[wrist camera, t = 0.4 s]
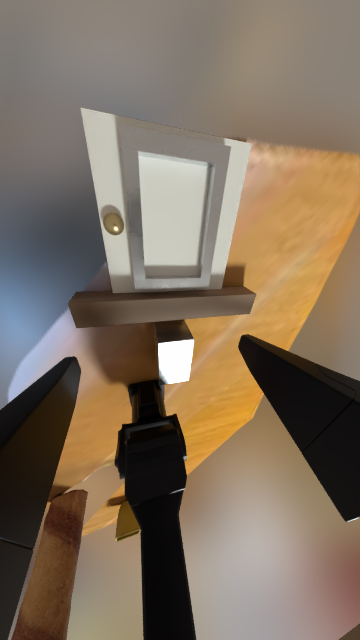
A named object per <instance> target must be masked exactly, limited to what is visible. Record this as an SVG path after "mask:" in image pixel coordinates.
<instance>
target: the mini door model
mask: <svg viewBox="0 0 360 640" xmlns="http://www.w3.org/2000/svg"><path fill="white" fill-rule="evenodd" d="M81 114H82V118H83V125H84V131H85V136H86V142H87V148H88V153H89V159H90V165H91V171H92V177H93V182H94V188H95V194H96V200H97V205H98V211H99V217H100V222H101V228H102V233H103V239H104V245H105V251H106V256H107V263H108V268H109V274H110V280H111V286H112V291H113V293H133V292H159V291H185V290H211V289H222V284H223V279H224V274H225V269H226V265H227V260H228V255H229V250H230V245H231V241H232V236H233V231H234V226H235V221H236V216H237V212H238V207H239V202H240V197H241V192H242V188H243V183H244V178H245V173H246V168H247V163H248V159H249V154H250V149H251V143H246V142H241V141H237V140H232V139H227V138H222V137H217V136H213V135H208V134H204V133H199V132H194V131H189V130H184V129H180V128H175V127H170V126H166V125H161V124H156V123H151V122H147V121H142V120H137V119H133V118H128V117H123V116H118V115H114V114H109V113H104V112H100V111H95V110H90V109H85V108H81Z"/></svg>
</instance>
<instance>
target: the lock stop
mask: <svg viewBox="0 0 360 640" xmlns="http://www.w3.org/2000/svg"><path fill="white" fill-rule="evenodd" d="M154 335H155V362H156V369H157V375H158V381H159V386H160V385H165V384H171V383H176V382H182V381H187V380H189V373H190V366H191V359H192V352H193V344H194V338H193V336H192V334H191V332H190V330H189V328H188V326H187V324H186V322H185V320H184V319H183V320H171V321H159V322H154Z"/></svg>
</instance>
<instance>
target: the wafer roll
mask: <svg viewBox="0 0 360 640" xmlns="http://www.w3.org/2000/svg"><path fill="white" fill-rule="evenodd" d="M87 493H88V492H86V491H84V490H73V491H70V492H68V493H65V494H62V495H59V496H57V497H55V498H54V499H53V500H52V501H51V504H50V507H49V511H48V513H47V515H46V518H45V522H44V528H43V532H42V536H41V541H40V545H39V549H38V552H37V555H36V559H35V564H34V567H33V571H32V574H31V577H30V580H29V583H28V586H27V590H26V593H25V596H24V598H23V601H22V604H21V607H20V610H19V615H18V619H17V623H16V627H15V630H14V633H13V636H12V639H11V640H66V638H67V629H68V622H69V616H70V609H71V597H72V592H73V587H74V586H73V585H74V579H75V572H76V566H77V560H78V554H79V549H80V543H81V534H82V528H83V520H84V513H85V507H86V499H87Z"/></svg>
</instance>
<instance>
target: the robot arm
mask: <svg viewBox="0 0 360 640" xmlns="http://www.w3.org/2000/svg"><path fill="white" fill-rule="evenodd" d="M238 348H239V351H240V353H241V355H242V357H243V359H244V361H245V363H246V365H247V367H248V368H249V370H250V372H251V374H252V375H253V377H254V378H255V380H256V382H257V383H258V385H259V386H260V388H261V390H262V391H263V393H264V394H265V396H266V397H267V399H268V401H269V402H270V403H271V405H272V407H273V408H274V410H275V412H276V413H277V415H278V416H279V418H280V420H281V421H282V423H283V424H284V426H285V427H286V429H287V430H288V432H289V434H290V435H291V437H292V438H293V440H294V442H295V443H296V445H297V446H298V448H299V450H300V451H301V452H302V454H303V456H304V458H305V459H306V461H307V462H308V464H309V466H310V467H311V469H312V470H313V472H314V473H315V475H316V476H317V478H318V480H319V481H320V483H321V485H322V486H323V488H324V489H325V491H326V492H327V494H328V496H329V497H330V499H331V500H332V502H333V503H334V505H335V507H336V508H337V510H338V511H339V513H340V514H341V516H342V517H343V519H344V520H345V521H346V522H349V521H352V520H354V519H357V518H360V381H358V380H355V379H353V378H350V377H347V376H345V375H343V374H340V373H338V372H335V371H332V370H330V369H328V368H325V367H323V366H321V365H319V364H316V363H314V362H312V361H309V360H307V359H304V358H302V357H300V356H298V355H295V354H293V353H290V352H288V351H286V350H284V349H281V348H279V347H277V346H275V345H272V344H270V343H268V342H265V341H263V340H261V339H258V338H256V337H254V336H251V335H249V334H247V335H242V336H241V339H240V342H239V345H238ZM80 375H81V368H80V366H79V363H78V360H77V358H76V357H74V356H73V357H66V358H64V359H63V360H61V361H60V362H59V363H58V364H57V365H55V366H54V367H53V368H52V369H50V370H49V371H48V372H47V373H45V374H44V375H43V376H42V377H40V378H39V379H38V380H37V381H36V382H34V383H33V384H32V385H31V386H29V387H28V388H27V389H26V390H24V391H23V392H22V393H21V394H19V395H18V396H17V397H16V398H14V399H13V400H12V401H11V402H10V403H8V404H7V405H6V406H5V407H4V408H2V409H1V410H0V640H8V637H9V633H10V629H11V626H12V623H13V619H14V616H15V612H16V609H17V605H18V602H19V599H20V595H21V592H22V588H23V585H24V581H25V578H26V574H27V571H28V568H29V564H30V560H31V557H32V554H33V548H34V546H35V543H36V539H37V536H38V532H39V529H40V526H41V522H42V518H43V515H44V512H45V508H46V505H47V501H48V498H49V495H50V491H51V488H52V484H53V481H54V477H55V474H56V470H57V467H58V464H59V460H60V457H61V453H62V450H63V446H64V443H65V439H66V436H67V432H68V429H69V426H70V422H71V419H72V415H73V412H74V408H75V404H76V399H77V393H78V387H79V381H80ZM128 390H129V396H130V402H131V406H132V423H130V424H122V429H121V430H120V431H118V444H117V450H116V456H115V466H116V467H117V468H118V471H119V473H120V479H124V478H125V496H126V499H127V501H128V503H129V505H130V507H131V509H132V511H133V514H134V516H135V518H136V520H137V522H138V524H139V526H140V530H141V564H142V600H143V636H144V640H196V635H195V627H194V620H193V614H192V606H191V599H190V592H189V586H188V579H187V571H186V564H185V557H184V550H183V543H182V536H181V529H180V522H179V510H180V505H181V500H182V495H183V491H184V489H185V485H186V479H187V474H186V469H185V463H184V461H186V458H187V454H186V445H185V440H184V436H183V433H182V430H181V427H180V424H179V421H178V418H177V414H173V415H170V416H166V410H165V405H164V385H160V386H159V381H158V380H155V381H149V382H143V383H137V384H131V385H129V386H128ZM339 640H360V624H358V625H357V626H356V627H355V628H353V629H352V630H351V631H349V632H348V633H347V634H345V635H344V636H343V637H341V638H340V639H339Z"/></svg>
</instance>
